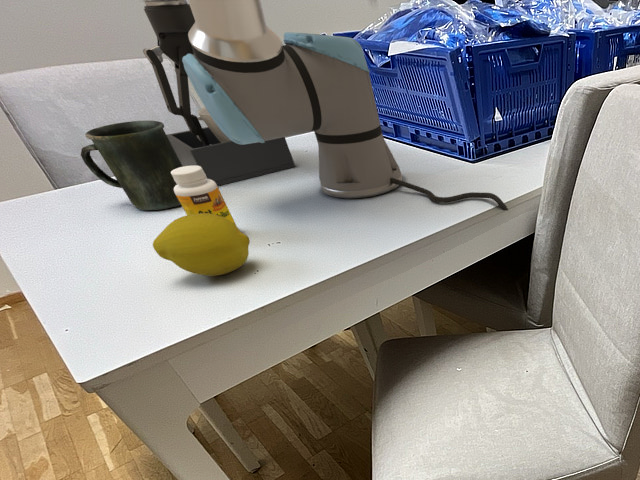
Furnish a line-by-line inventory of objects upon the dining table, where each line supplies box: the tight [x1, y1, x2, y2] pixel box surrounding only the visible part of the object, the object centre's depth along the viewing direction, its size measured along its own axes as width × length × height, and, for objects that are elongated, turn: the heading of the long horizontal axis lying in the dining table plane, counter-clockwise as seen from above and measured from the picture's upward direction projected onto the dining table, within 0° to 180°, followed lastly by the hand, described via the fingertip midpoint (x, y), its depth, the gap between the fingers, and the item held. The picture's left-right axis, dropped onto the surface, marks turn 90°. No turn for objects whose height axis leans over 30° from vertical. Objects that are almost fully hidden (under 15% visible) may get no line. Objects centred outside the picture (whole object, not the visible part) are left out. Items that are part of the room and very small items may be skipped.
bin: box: [166, 126, 296, 187], centre depth 94 cm, size 17×18×7 cm
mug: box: [80, 120, 183, 211], centre depth 79 cm, size 11×15×12 cm
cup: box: [197, 106, 231, 145], centre depth 92 cm, size 7×10×8 cm
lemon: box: [152, 213, 251, 277], centre depth 60 cm, size 11×8×8 cm
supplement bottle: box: [171, 165, 237, 226], centre depth 67 cm, size 6×6×10 cm
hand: (230, 147), depth 94 cm, fingers closed on cup, 7 cm apart
